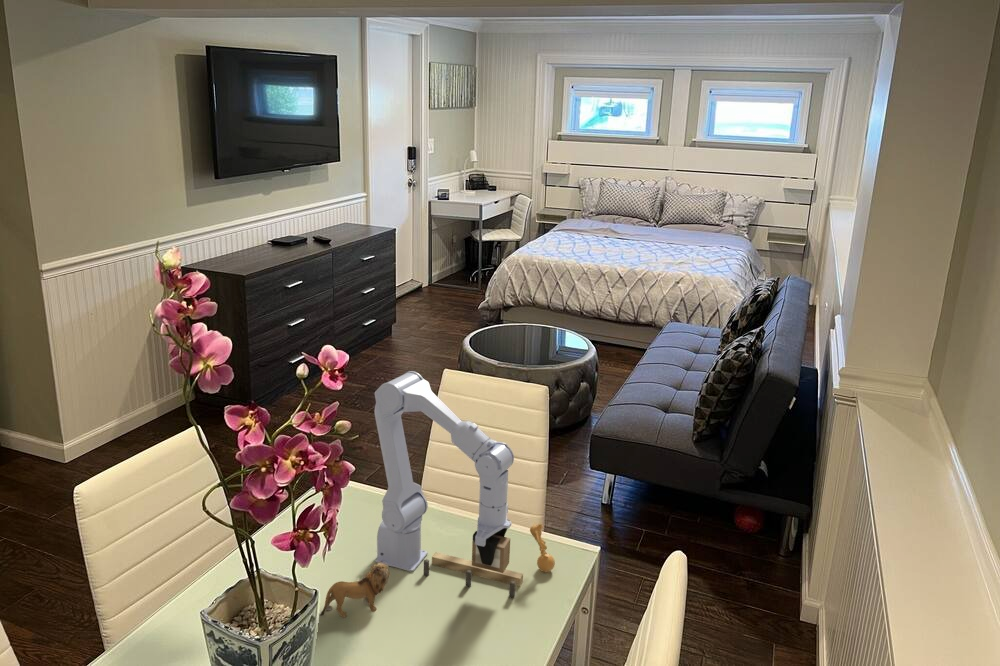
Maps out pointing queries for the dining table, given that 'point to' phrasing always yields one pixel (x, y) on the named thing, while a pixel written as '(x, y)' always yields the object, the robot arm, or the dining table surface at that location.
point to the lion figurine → (358, 589)
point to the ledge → (474, 571)
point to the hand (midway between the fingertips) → (490, 557)
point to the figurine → (542, 550)
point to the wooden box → (499, 558)
